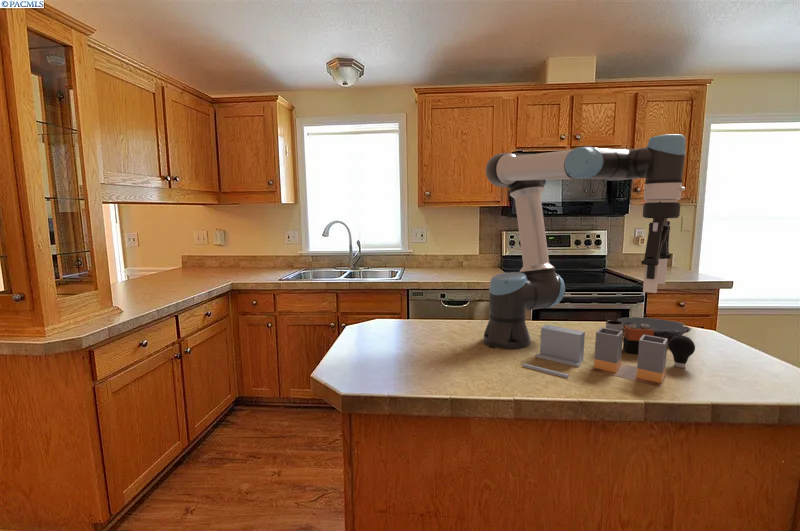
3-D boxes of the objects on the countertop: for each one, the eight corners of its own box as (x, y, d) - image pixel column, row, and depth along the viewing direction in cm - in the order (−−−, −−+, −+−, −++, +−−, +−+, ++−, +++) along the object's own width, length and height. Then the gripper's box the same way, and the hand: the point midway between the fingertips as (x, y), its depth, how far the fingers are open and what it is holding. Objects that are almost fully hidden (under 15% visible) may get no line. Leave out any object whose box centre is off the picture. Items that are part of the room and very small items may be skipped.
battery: (652, 360, 115) (654, 327, 114) (627, 358, 117) (629, 326, 115) (646, 354, 120) (648, 323, 118) (622, 353, 121) (624, 322, 120)
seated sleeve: (594, 367, 107) (596, 332, 105) (599, 361, 111) (601, 327, 109) (616, 372, 103) (618, 336, 102) (620, 366, 107) (623, 331, 106)
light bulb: (661, 367, 110) (664, 333, 109) (680, 366, 110) (683, 332, 109) (677, 376, 104) (680, 339, 103) (698, 375, 105) (701, 339, 103)
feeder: (522, 371, 109) (523, 336, 107) (543, 356, 120) (544, 324, 118) (567, 383, 101) (569, 346, 99) (584, 365, 112) (586, 331, 111)
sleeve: (661, 383, 97) (664, 344, 95) (636, 377, 100) (639, 339, 99) (664, 376, 101) (667, 338, 99) (640, 370, 104) (643, 334, 103)
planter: (619, 353, 121) (621, 320, 120) (622, 358, 117) (624, 324, 116) (603, 351, 123) (604, 319, 121) (605, 356, 118) (607, 323, 117)
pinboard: (590, 375, 106) (591, 348, 104) (600, 363, 113) (601, 338, 112) (660, 392, 95) (663, 363, 94) (666, 378, 103) (668, 351, 102)
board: (611, 338, 135) (613, 323, 134) (619, 325, 153) (620, 312, 152) (691, 350, 122) (692, 334, 122) (689, 335, 140) (690, 321, 140)
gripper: (673, 201, 83) (665, 298, 86) (686, 201, 102) (678, 281, 105) (633, 201, 88) (626, 294, 91) (652, 202, 107) (646, 278, 110)
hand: (654, 287), depth 98 cm, fingers open, 13 cm apart
